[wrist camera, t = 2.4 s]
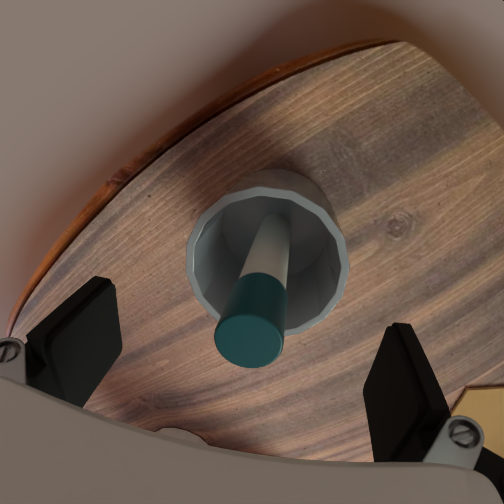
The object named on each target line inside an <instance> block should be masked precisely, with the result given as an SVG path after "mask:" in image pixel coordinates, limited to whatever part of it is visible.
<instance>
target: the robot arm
mask: <svg viewBox="0 0 504 504" xmlns="http://www.w3.org/2000/svg"><path fill="white" fill-rule="evenodd" d="M26 337H27V340H28V342H27V343H26V344H24V343H23V342H22V341H21V340H20V339H18V338H13V337H7V338H3V339H0V504H504V458H502V457H501V456H499V455H497V454H495V453H494V452H492V451H490V450H489V449H487V448H485V447H484V446H483V444H484V439H485V437H484V432H483V430H482V428H481V426H480V425H479V424H478V423H477V422H476V421H475V420H473V419H472V418H469V417H467V416H462V415H456V416H451V414H450V411H449V407H448V405H447V402H446V400H445V397H444V395H443V393H442V390H441V388H440V386H439V383H438V381H437V379H436V377H435V374H434V372H433V370H432V368H431V366H430V363H429V361H428V359H427V357H426V355H425V353H424V351H423V348H422V346H421V344H420V342H419V340H418V338H417V336H416V334H415V332H414V330H413V328H412V326H411V325H410V324H406V323H396V322H395V323H393V324H392V326H388V327H387V328H386V331H385V333H384V336H383V339H382V342H381V344H380V347H379V350H378V352H377V355H376V357H375V360H374V362H373V365H372V367H371V370H370V372H369V375H368V377H367V379H366V382H365V384H364V388H363V396H364V402H365V407H366V413H367V419H368V425H369V431H370V437H371V444H372V450H373V457H374V462H339V461H319V460H305V459H294V458H284V457H275V456H268V455H260V454H253V453H247V452H241V451H235V450H229V449H224V448H218V447H213V446H208V445H204V444H199V443H195V442H190V441H186V440H182V439H178V438H174V437H170V436H166V435H162V434H159V433H155V432H152V431H148V430H145V429H141V428H138V427H135V426H132V425H128V424H125V423H122V422H119V421H116V420H113V419H110V418H107V417H105V416H102V415H99V414H96V413H94V412H91V411H88V410H86V409H83V406H84V405H85V403H86V402H87V401H88V399H89V398H90V396H91V395H92V393H93V392H94V390H95V389H96V388H97V386H98V385H99V383H100V382H101V380H102V379H103V378H104V376H105V375H106V373H107V372H108V370H109V369H110V368H111V366H112V365H113V363H114V362H115V361H116V359H117V358H118V356H119V355H120V353H121V351H122V338H121V331H120V324H119V316H118V307H117V298H116V288H115V285H114V284H112V282H111V280H110V279H108V278H103V277H98V276H94V277H93V278H91V279H90V280H89V281H88V282H87V283H85V284H84V285H83V286H82V287H81V288H79V289H78V290H77V291H76V292H75V293H73V294H72V295H71V296H70V297H69V298H68V299H66V300H65V301H64V302H63V303H62V304H61V305H59V306H58V307H57V308H56V309H55V310H54V311H53V312H51V313H50V314H49V315H48V316H47V317H46V318H45V319H43V320H42V321H41V322H40V323H39V324H38V325H37V326H36V327H35V328H33V329H32V330H31V331H30V332H29V333H28V334H27V335H26Z"/></svg>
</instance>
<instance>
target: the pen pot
mask: <svg viewBox="0 0 504 504" xmlns="http://www.w3.org/2000/svg"><path fill="white" fill-rule="evenodd" d="M270 214H280V215H283V216H284V217H286V218H287V220H288V221H289V223H290V225H291V235H290V247H289V259H288V270H287V281H286V292H287V310H286V321H285V333H284V336H289V335H294V334H299V333H302V332H303V331H305V330H307V329H309V328H310V327H312V326H314V325H315V324H317V323H319V322H321V321H322V320H324V319H325V318H326V317H327V316H328V314H329V313H330V312H331V311H332V309H333V308H334V307H335V305H336V304H337V303H338V301H339V300H340V299H341V297H342V296H343V293H344V289H345V285H346V281H347V277H348V273H349V269H350V264H349V259H348V254H347V249H346V244H345V239H344V236H343V233H342V231H341V228H340V226H339V223H338V221H337V218H336V216H335V213H334V211H333V209H332V206H331V204H330V202H329V201H328V199H327V198H326V196H325V195H324V193H323V192H322V191H321V190H320V188H319V187H318V186H317V185H316V184H315V183H313V182H312V181H311V180H309V179H308V178H306V177H305V176H303V175H301V174H299V173H296V172H293V171H290V170H285V169H265V170H260V171H257V172H254V173H252V174H248V175H246V176H245V177H244V178H242V179H241V180H240V181H239V182H237V183H236V184H235V185H234V186H232V187H231V188H230V189H229V190H228V191H227V192H225V193H224V194H223V195H222V196H221V197H220V198H219V199H218V200H217V201H215V202H214V203H213V204H212V205H211V206H210V207H209V208H208V209H207V210H206V211H205V212H203V213H202V214H201V215H200V217H199V218H198V221H197V223H196V225H195V227H194V229H193V231H192V233H191V235H190V237H189V239H188V241H187V249H186V274H187V276H188V279H189V281H190V284H191V286H192V289H193V291H194V294H195V296H196V298H197V300H198V301H199V302H200V303H201V304H202V305H203V307H204V308H205V309H206V310H207V311H208V312H209V313H210V314H211V315H212V316H213V317H214V318H215V319H216V320H217V321H218V322H219V319H220V317H221V314H222V312H223V309H224V307H225V305H226V302H227V300H228V297H229V295H230V292H231V290H232V287H233V285H234V284H235V282H236V281H237V280H238V279H239V277H240V274H241V272H242V269H243V267H244V264H245V262H246V259H247V256H248V254H249V251H250V249H251V246H252V244H253V241H254V239H255V236H256V234H257V231H258V229H259V226H260V224H261V221H262V220H263V219H264V218H265V217H266V216H267V215H270Z"/></svg>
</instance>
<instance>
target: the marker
mask: <svg viewBox="0 0 504 504" xmlns="http://www.w3.org/2000/svg"><path fill="white" fill-rule="evenodd" d="M290 235H291V225H290V223H289V221H288V220H287V218H286V217H284V216H283V215H280V214H270V215H267V216H266V217H265V218H264V219H263V220H262V221H261V224H260V226H259V229H258V231H257V234H256V236H255V239H254V241H253V244H252V246H251V249H250V251H249V254H248V256H247V259H246V262H245V264H244V267H243V269H242V272H241V274H240V277H239V279H238V280H237V281H236V282H235V284H234V285H233V287H232V290H231V292H230V295H229V297H228V300H227V302H226V305H225V307H224V309H223V312H222V314H221V317H220V319H219V322H218V324H217V326H216V329H215V333H214V340H215V344H216V347H217V349H218V351H219V352H220V354H221V355H222V356H223V357H224V358H225V359H226V360H228V361H229V362H231V363H233V364H235V365H238V366H241V367H245V368H259V367H263V366H266V365H268V364H270V363H272V362H273V361H274V360H276V359H277V357H278V356H279V355H280V354H281V351H282V349H283V343H284V333H285V321H286V310H287V292H286V281H287V270H288V259H289V247H290Z"/></svg>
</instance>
